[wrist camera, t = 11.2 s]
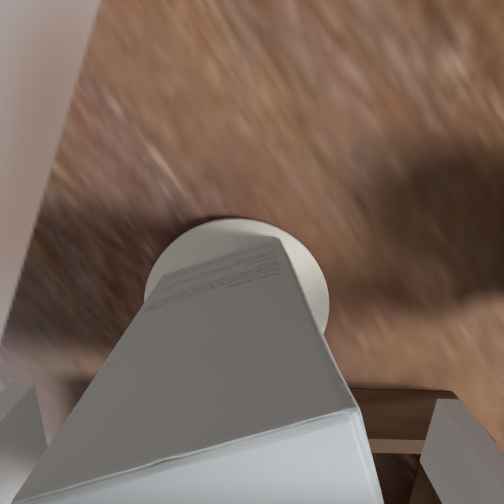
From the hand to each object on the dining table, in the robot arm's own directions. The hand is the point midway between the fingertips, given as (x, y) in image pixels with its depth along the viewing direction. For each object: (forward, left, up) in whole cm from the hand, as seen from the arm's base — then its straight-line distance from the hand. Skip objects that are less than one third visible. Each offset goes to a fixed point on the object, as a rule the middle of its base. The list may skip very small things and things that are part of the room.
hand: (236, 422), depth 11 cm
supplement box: (0, 0, -9) cm, 9 cm away
